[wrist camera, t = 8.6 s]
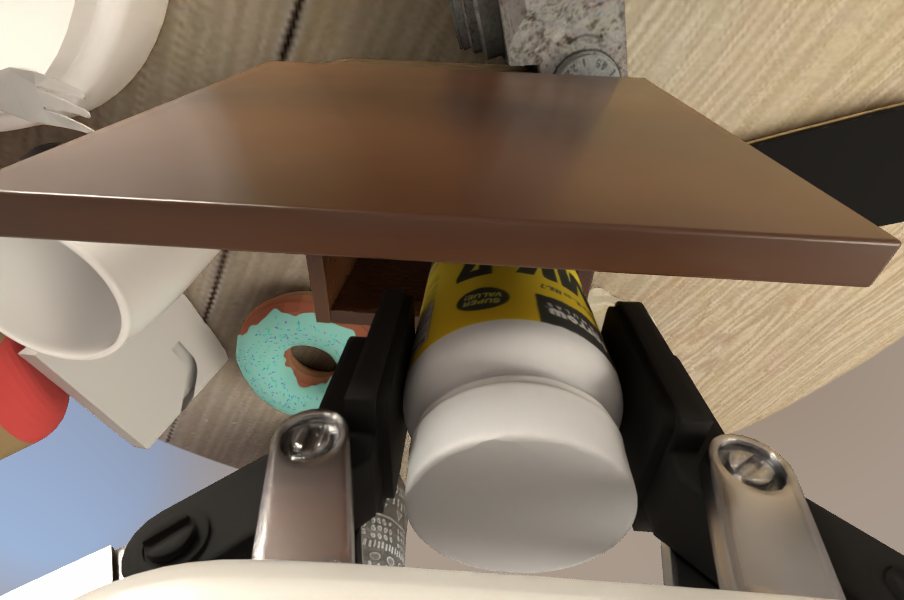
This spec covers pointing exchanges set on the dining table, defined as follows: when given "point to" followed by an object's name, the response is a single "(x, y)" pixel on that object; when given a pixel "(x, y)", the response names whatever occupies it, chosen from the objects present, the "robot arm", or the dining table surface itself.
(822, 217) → the lid
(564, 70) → the camera
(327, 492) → the robot arm
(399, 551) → the planter
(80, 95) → the fork
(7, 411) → the decorative object
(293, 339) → the donut
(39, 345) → the white tumbler cup
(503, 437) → the supplement bottle
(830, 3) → the dining table surface
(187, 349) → the grey square panel
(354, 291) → the chest
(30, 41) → the plate
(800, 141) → the smartphone
